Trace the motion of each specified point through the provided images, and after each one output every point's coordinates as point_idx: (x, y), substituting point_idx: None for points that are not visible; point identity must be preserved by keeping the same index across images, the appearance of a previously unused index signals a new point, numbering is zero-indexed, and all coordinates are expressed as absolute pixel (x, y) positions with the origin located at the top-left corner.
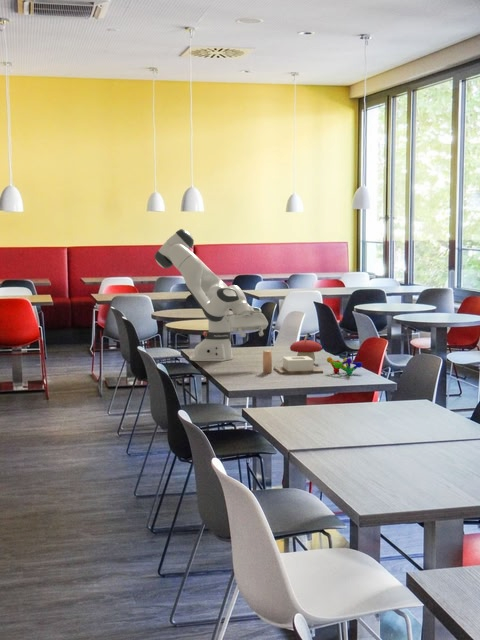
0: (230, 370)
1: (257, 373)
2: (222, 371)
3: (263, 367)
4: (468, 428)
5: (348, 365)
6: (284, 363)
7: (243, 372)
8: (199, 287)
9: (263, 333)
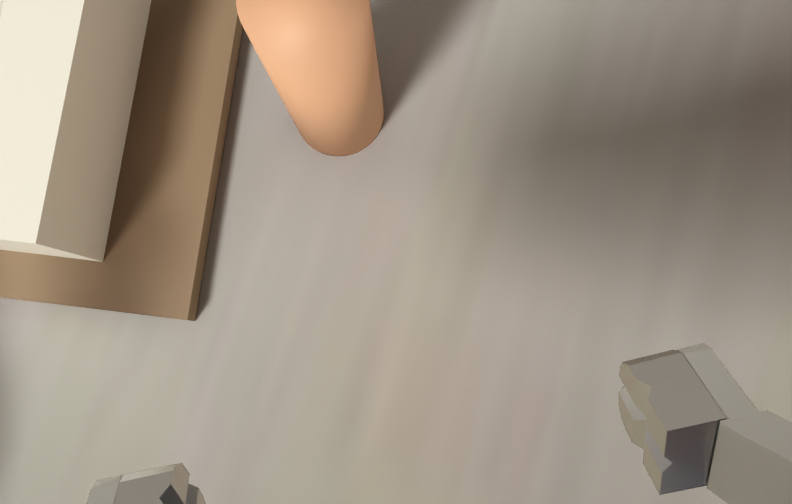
0: None
1: (451, 95)
2: (784, 330)
3: (380, 85)
4: None
5: None
6: (92, 162)
7: (574, 197)
8: None
9: (92, 487)
